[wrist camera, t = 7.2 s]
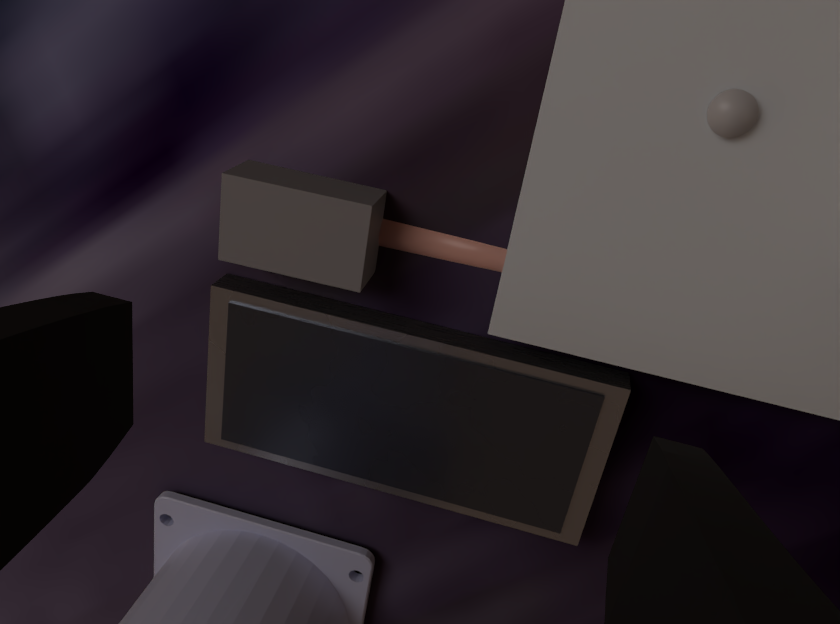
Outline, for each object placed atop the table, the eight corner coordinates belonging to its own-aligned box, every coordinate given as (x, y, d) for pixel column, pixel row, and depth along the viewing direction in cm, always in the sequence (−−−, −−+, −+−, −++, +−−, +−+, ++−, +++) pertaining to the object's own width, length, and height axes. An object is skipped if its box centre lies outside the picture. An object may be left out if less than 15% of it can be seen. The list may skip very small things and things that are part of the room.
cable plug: (625, 233, 19) (632, 263, 17) (601, 312, 20) (605, 349, 18) (259, 154, 20) (222, 173, 18) (253, 233, 21) (218, 259, 19)
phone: (577, 523, 22) (577, 548, 21) (219, 424, 24) (202, 443, 23) (629, 372, 20) (630, 392, 19) (227, 273, 21) (209, 286, 20)
